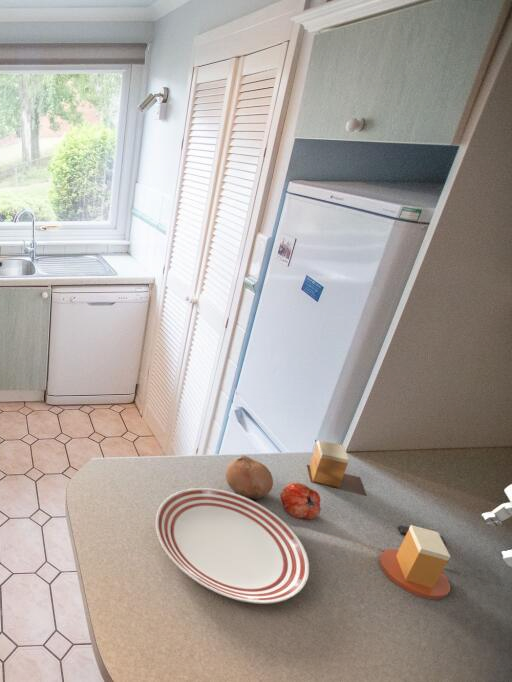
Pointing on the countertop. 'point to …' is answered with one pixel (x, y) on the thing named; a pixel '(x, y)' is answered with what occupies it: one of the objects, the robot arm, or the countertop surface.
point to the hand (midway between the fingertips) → (493, 539)
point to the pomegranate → (300, 501)
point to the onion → (249, 478)
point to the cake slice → (422, 556)
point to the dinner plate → (232, 545)
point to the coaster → (395, 574)
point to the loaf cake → (333, 468)
